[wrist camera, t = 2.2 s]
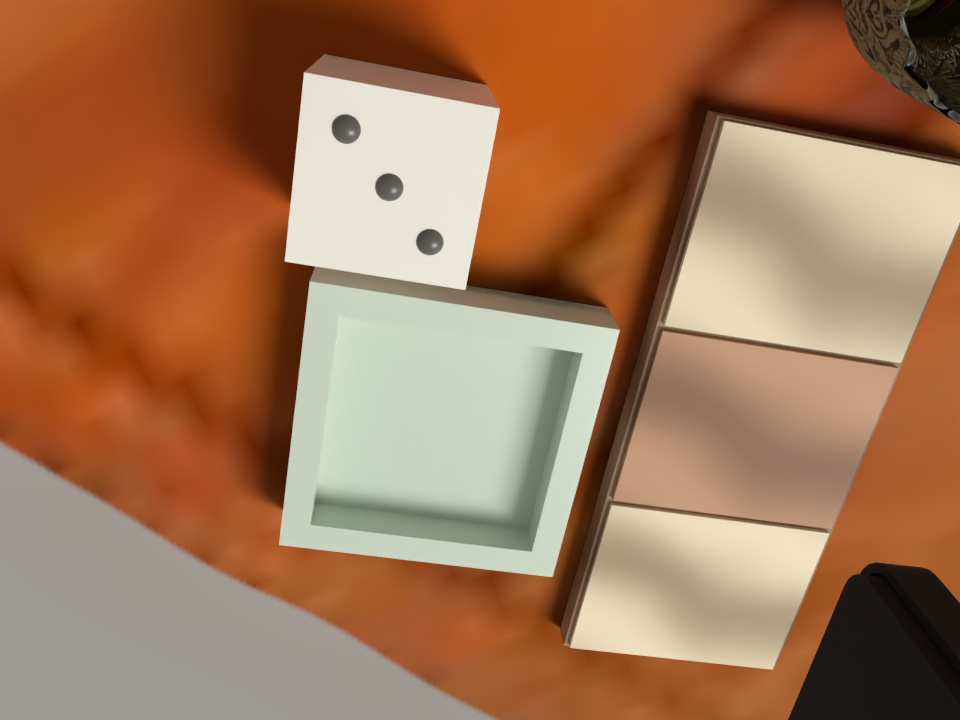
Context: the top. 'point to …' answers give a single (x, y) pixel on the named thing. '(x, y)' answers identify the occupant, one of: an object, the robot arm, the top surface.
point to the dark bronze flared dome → (911, 47)
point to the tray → (441, 421)
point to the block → (389, 171)
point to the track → (757, 387)
